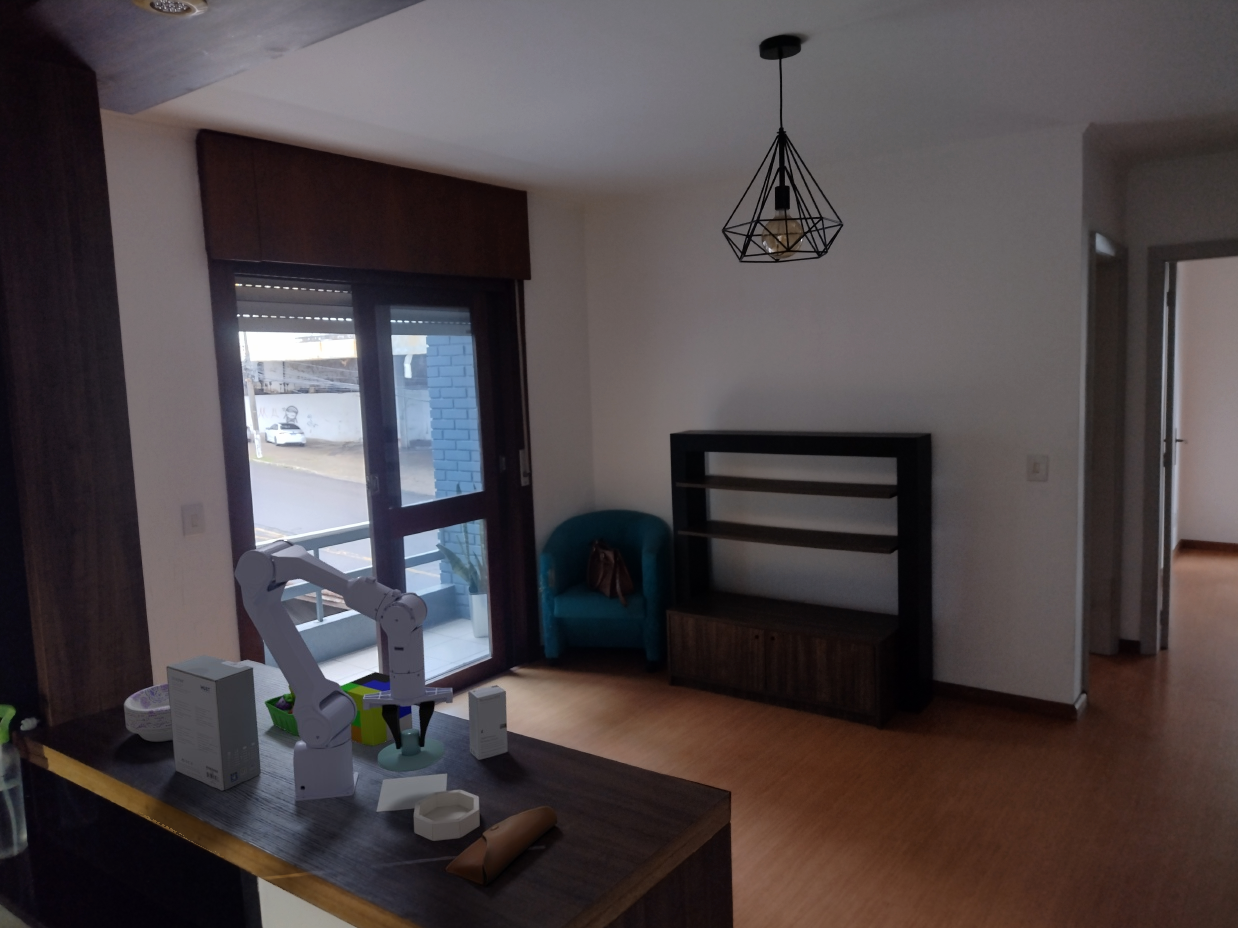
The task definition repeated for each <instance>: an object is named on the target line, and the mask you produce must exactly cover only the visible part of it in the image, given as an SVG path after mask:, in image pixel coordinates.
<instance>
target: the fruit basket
mask: <svg viewBox="0 0 1238 928" xmlns="http://www.w3.org/2000/svg"><path fill="white" fill-rule="evenodd" d="M288 690H289V692H290V693H283V694H282V695H280V696H277V697H272V698H269V699H267V700H265V701H264V704H265V707H266V708H267V711H268V712H269V716H270V718H271V721H272V724H273V725H274V726H275V727H278V728H279V729H281V730H284V731H286V732H288V733H289V734H291V735H293V736H299V733H298V726H297V721H296V719H295V717H294V715H293V708H294V704H295V699H296V696H295V694H294V692H293V691H292V689H291V687H290V686H289V685H288ZM320 703H321V702H320Z"/></svg>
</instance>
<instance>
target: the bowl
mask: <svg viewBox="0 0 1238 928" xmlns="http://www.w3.org/2000/svg"><path fill="white" fill-rule="evenodd" d="M413 809H414V810H413V811H414V812H413V831H414V834H417V835H419V836H421V837H423V838H425V839H427V840H430V841H434V842H436V841H443V840H452V839H453V840H454V839H460V838H463V837H464V836H466V835H467V834H469V833H470V832H472V831H474V830H475V829H477V828H478V827H480V819H481V818H480V797H479V796H478V795H475V794H474V793H470V792H468V791H465V790H464V789H463V790H462V789H453V790H446V791H442V792H434V793H432V794H431V795H429V796H427V797H425V798H423V799H422V800H420V801H418V802H416V803H415V808H413Z"/></svg>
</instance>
